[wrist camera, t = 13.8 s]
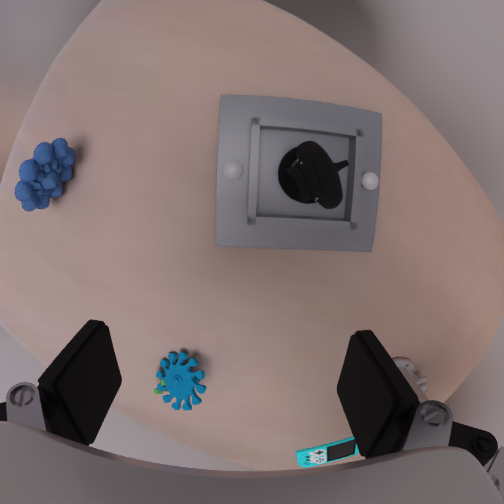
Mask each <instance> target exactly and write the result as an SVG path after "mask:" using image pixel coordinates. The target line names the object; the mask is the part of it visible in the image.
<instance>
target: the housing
mask: <svg viewBox="0 0 504 504" xmlns="http://www.w3.org/2000/svg"><path fill="white" fill-rule="evenodd" d="M305 141H314V142H316V143H318V144H319V145H320V146H321V147H322V148H323V149H324V150H325V151H326V152H327V154H328V155H329V157H330V158H331V160H332V161H333V163H338V162H341V161H344V160H347V161H348V162H349V165H348V166H347V167H345V168H343V169H341V170H340V171H339V172H338V174H339V176H340V180H341V185H342V191H343V199H342V202H341V203H340V204H339V205H338V207H336V208H334V209H325V208H324V207H322V206H321V205H320V204H319V203H318V202H316V203H312V204H304V203H300V202H298V201H295V200H293V199H291V198H290V197H289V196H288V195H287V194H286V193H285V192H284V191H283V189H282V188H281V186H280V183H279V179H278V169H279V165H280V162H281V160H282V158H283V157H284V155H285V154H286V153H287V152H288V151H289V150H291V149H293V148H295V147H297V146H299V145H300V144H301V143H303V142H305ZM381 143H382V114H381V113H377V112H372V111H368V110H363V109H358V108H353V107H348V106H342V105H337V104H330V103H324V102H317V101H309V100H301V99H292V98H281V97H268V96H249V95H221V101H220V119H219V138H218V162H217V194H216V246H220V247H251V248H281V249H309V250H337V251H363V252H372V246H373V239H374V231H375V224H376V215H377V205H378V195H379V182H380V167H381ZM296 163H297V159H296V160H295V161H294V162H293V164H292V165H291V166H294V165H295V164H296Z"/></svg>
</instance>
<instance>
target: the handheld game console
mask: <svg viewBox="0 0 504 504" xmlns="http://www.w3.org/2000/svg"><path fill="white" fill-rule="evenodd" d="M358 452H359V450H358V447H357V444H356V442H355V439H354V437H350V438H347V439H344V440H340V441H337V442H333V443H329V444H325V445H321V446H317V447H313V448H308V449H303V450H298V451H296V455H297V460H298V464H299V465H300V466H301V467H311V466H316V465H320V464H324V463H328V462H332V461H336V460H339V459H343V458H346V457H350V456H353V455H356V454H358Z"/></svg>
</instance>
